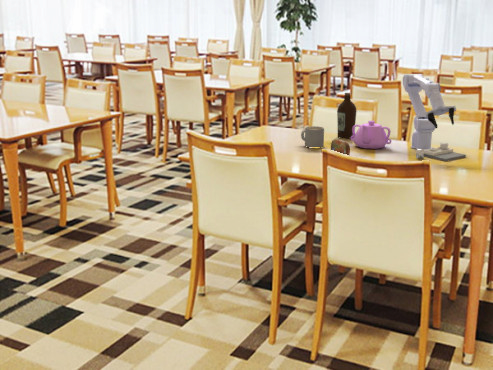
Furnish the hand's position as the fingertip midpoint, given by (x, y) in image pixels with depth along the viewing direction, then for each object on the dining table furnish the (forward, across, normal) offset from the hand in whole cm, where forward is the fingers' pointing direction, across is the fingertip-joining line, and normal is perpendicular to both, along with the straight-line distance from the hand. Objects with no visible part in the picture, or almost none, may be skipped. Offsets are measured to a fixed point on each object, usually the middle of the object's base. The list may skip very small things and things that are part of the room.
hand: (444, 125), depth 289 cm
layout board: (+7, -3, +15) cm, 17 cm away
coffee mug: (-17, -64, +18) cm, 69 cm away
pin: (+10, -14, +9) cm, 19 cm away
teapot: (-11, -36, +22) cm, 43 cm away
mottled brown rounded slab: (+3, -51, +3) cm, 51 cm away
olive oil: (-33, -46, +39) cm, 68 cm away
